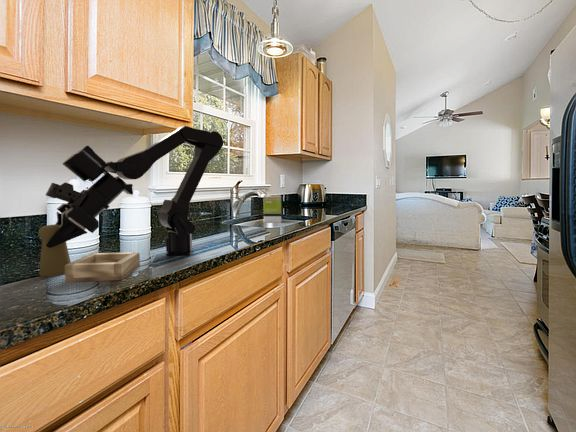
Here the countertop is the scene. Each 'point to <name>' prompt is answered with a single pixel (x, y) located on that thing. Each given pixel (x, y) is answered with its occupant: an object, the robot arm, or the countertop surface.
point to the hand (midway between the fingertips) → (46, 244)
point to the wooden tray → (102, 267)
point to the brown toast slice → (52, 253)
